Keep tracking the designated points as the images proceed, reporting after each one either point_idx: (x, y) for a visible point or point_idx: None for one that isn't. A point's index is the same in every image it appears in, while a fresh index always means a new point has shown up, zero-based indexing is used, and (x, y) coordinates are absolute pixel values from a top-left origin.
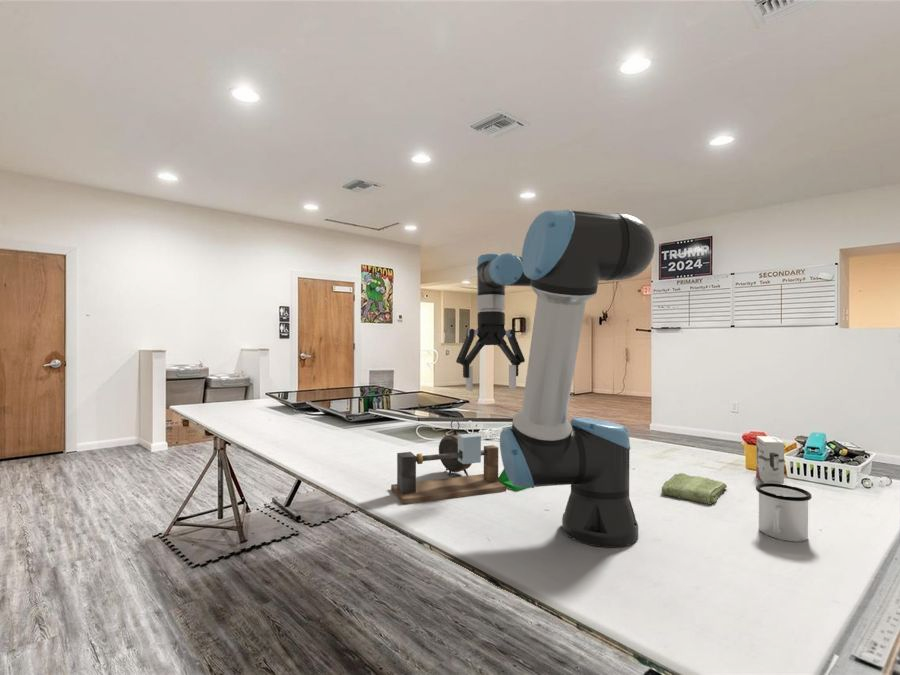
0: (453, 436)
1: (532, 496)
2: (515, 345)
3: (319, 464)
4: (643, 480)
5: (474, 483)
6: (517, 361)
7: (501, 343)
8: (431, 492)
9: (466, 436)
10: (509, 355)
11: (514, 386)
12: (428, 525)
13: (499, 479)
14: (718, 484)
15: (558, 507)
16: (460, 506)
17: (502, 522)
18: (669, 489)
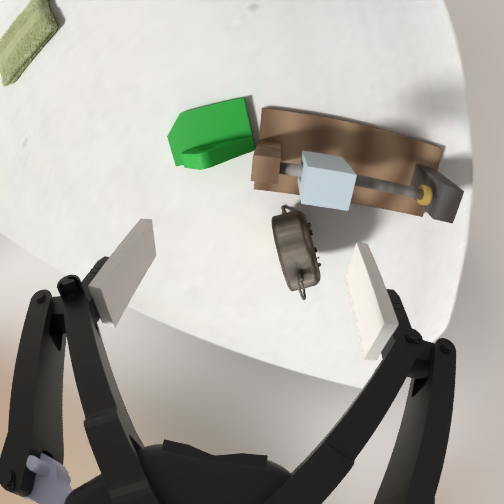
0: (310, 262)
1: (235, 64)
2: (31, 383)
3: None
4: (40, 88)
5: (307, 150)
6: (69, 300)
7: (129, 440)
8: (396, 149)
9: (342, 182)
10: (97, 344)
11: (144, 224)
12: (444, 62)
13: (251, 146)
14: (5, 33)
15: (227, 8)
16: (376, 86)
17: (351, 4)
18: (50, 21)
